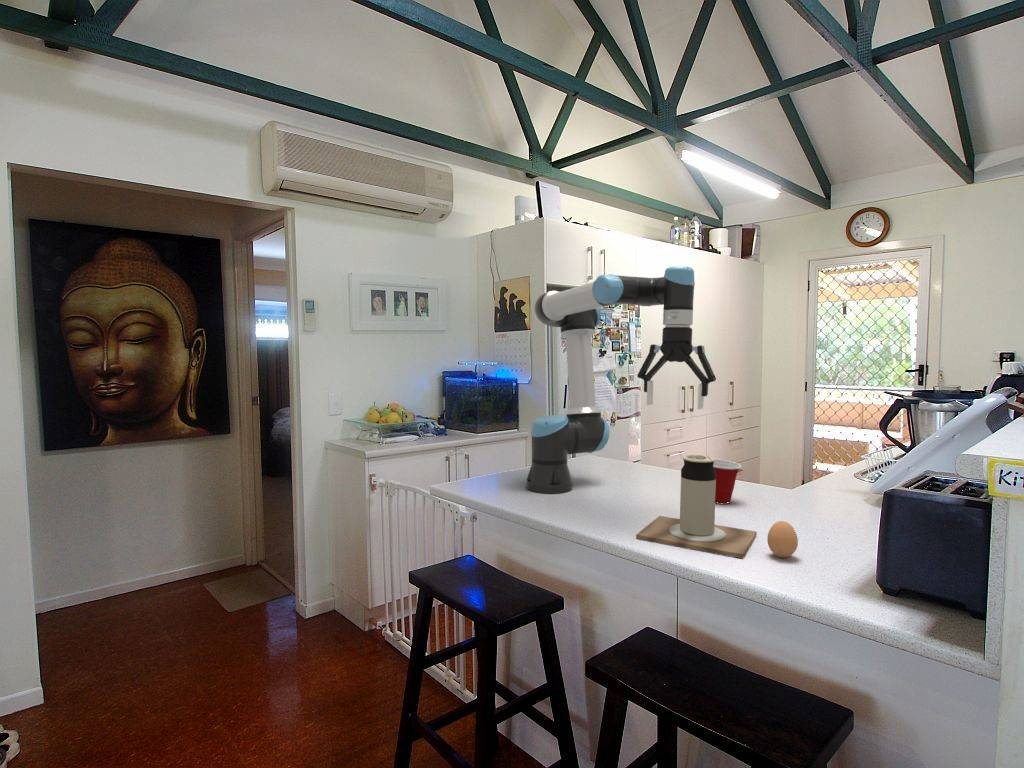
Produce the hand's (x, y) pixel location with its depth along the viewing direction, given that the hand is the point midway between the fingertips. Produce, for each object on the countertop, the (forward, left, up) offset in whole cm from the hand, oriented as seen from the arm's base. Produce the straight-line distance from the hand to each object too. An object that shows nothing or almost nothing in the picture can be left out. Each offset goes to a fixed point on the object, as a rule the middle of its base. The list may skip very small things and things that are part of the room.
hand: (674, 406), depth 149 cm
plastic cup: (+8, +23, -30) cm, 39 cm away
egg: (+29, -16, -30) cm, 45 cm away
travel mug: (+10, -13, -29) cm, 33 cm away
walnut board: (+10, -13, -30) cm, 34 cm away
